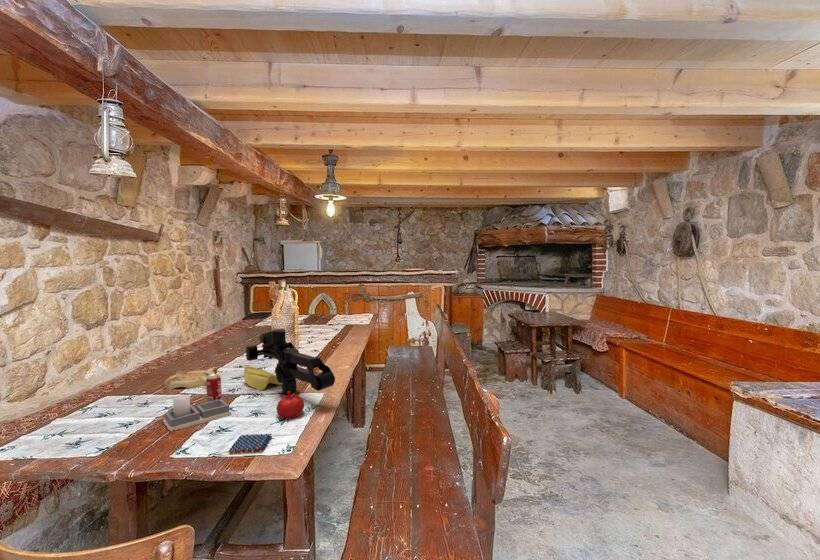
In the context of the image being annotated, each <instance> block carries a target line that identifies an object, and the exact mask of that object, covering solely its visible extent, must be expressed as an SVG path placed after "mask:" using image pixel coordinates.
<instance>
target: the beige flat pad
mask: <svg viewBox="0 0 820 560" xmlns="http://www.w3.org/2000/svg"><path fill="white" fill-rule="evenodd" d="M217 372H218V369H217V368H215V367H209V368H208V369H205V370H202V369H201V370H191V371H185V370H177V371H175V374H173V375H170V377H168V378H167V379H165V380H164V383H163V386H164V389H165V390H173V389H176V388H187V389H190V388H191V389H196V387H197V388H202V387H201V386H203V387H206V379H207V376H209V375H213V374H217Z"/></svg>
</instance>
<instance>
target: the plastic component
mask: <svg viewBox="0 0 820 560" xmlns="http://www.w3.org/2000/svg"><path fill="white" fill-rule="evenodd" d="M243 379H244V381H245V383H246V384H247V385H248V386H249V387H252V388H253V389H255V390H257V391H265V389H266V388H267V387H268V384H274V385H278V386H280V385H281V386H282V383H279V382H278V381H277V378H276V374H273V373H271V372H269V371H266V370H264V369H260V368H258V367H254V366H251V365H250V366H249V365H245V366H244V369H243Z"/></svg>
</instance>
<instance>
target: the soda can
mask: <svg viewBox="0 0 820 560" xmlns="http://www.w3.org/2000/svg"><path fill="white" fill-rule="evenodd" d="M205 387H206V402H210V401H214V400H219V399H222V400H223V397H222V395H223V393H222V377H221V375H220V374H217V373H216V374H213V375H209V376H207V379H206V386H205Z"/></svg>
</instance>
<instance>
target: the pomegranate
mask: <svg viewBox="0 0 820 560" xmlns="http://www.w3.org/2000/svg"><path fill="white" fill-rule="evenodd" d="M290 392H291V391H288V392H287V393H288V396H284V395H279V397H280V400H279V401H278V402H277V405H276V413H277V416H279V417H280V418H282V419H287V420H289V419H293V418H296V417H297V416H298V417H299V415H301V413H302V412H303V411H304V408H305V401H304V399H303V398H302V397H301V395H299V394H295V393H294V394H295V395H294V394H293V395H290Z"/></svg>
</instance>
